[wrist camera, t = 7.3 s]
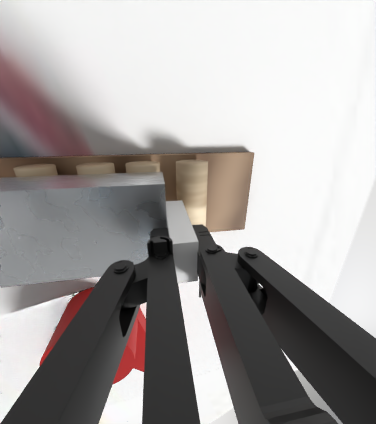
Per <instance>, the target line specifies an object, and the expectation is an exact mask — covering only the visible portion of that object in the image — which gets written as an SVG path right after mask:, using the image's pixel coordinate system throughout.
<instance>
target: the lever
mask: <svg viewBox="0 0 376 424" xmlns="http://www.w3.org/2000/svg"><path fill="white" fill-rule="evenodd" d="M93 289H94V287H93V288H89V289H86V290H84V291H81V292H80V293H78V294H76V295H75V296H74V297H73V298H72V299H71V300H70V301H69V303H68V305H67V307H66V309H65V311H64V313H63V315H62V317H61V319H60V321H59V323H58V325H57V327H56V329H55V331H54V333H53V336H52V338H51V340H50V342H49V344H48V346H47V348H46V350H45V352H44V354H43V356H42V358H41V361H40V366H41V364H42V363H43V361H44V360H45V358H46V357H47V355H48V354H49V352H50V351H51V350H52V348H53V347H54V345H55V344H56V342H57V341H58V339H59V338H60V336H61V335H62V334H63V332H64V331H65V329H66V328H67V326H68V325H69V323H70V322H71V320H72V319H73V318H74V316H75V315H76V313H77V312H78V310H79V309H80V307H81V306H82V305H83V303H84V302H85V300H86V299H87V297H88V296H89V294H90V293H91V291H92V290H93ZM145 335H146V319H145V317H144V315H143V313H142V311H141V309H140V308H139V311H138V314H137V317H136V319H135V322H134V325H133V328H132V331H131V333H130V336H129V339H128V342H127V345H126V348H125V350H124V353H123V356H122V359H121V362H120V364H119V367H118V370H117V373H116V376H115V378H114V381H113V384H115V383H117V382H119V381H120V380H122V379H123V378H125V377H126V376H127V375H128V374H129V373H130V372H131V370H132V369H133V368H135V369H137V370H140V371H143V372H144V362H145Z"/></svg>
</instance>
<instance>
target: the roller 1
mask: <svg viewBox="0 0 376 424" xmlns="http://www.w3.org/2000/svg"><path fill="white" fill-rule="evenodd" d="M13 169H14V172H15V175H16V177H30V176H57V175H58V173H57V169H56V166H55V164H33V165H25V166H19V167H15V168H13Z"/></svg>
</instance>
